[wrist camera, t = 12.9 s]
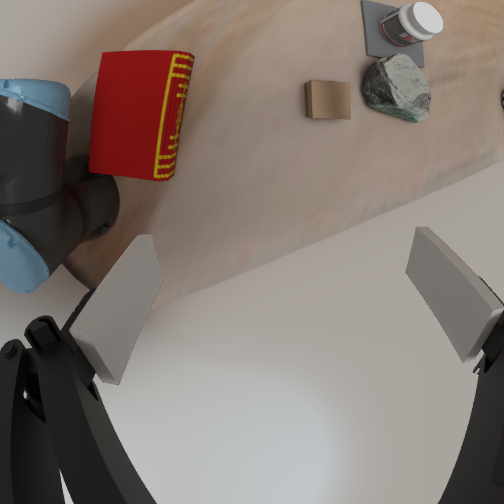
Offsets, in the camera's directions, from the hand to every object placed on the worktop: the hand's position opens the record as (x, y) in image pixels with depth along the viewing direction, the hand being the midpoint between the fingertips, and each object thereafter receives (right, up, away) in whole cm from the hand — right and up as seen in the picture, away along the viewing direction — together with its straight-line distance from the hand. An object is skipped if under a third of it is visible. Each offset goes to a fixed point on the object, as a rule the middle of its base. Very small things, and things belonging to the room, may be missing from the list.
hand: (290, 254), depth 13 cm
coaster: (+20, +33, +14) cm, 41 cm away
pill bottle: (+19, +33, +13) cm, 40 cm away
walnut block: (+8, +21, +21) cm, 31 cm away
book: (-18, +21, +22) cm, 35 cm away
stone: (+20, +23, +20) cm, 37 cm away
